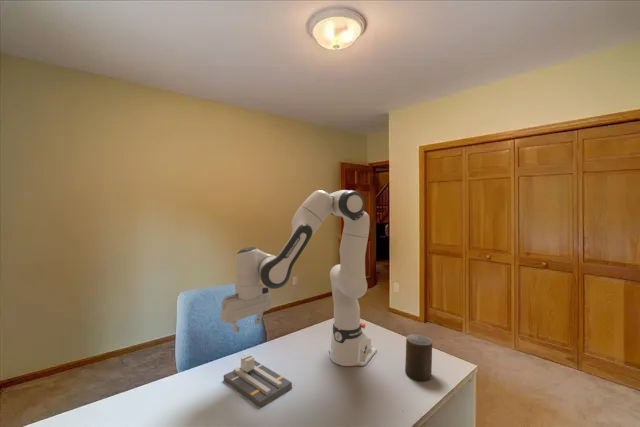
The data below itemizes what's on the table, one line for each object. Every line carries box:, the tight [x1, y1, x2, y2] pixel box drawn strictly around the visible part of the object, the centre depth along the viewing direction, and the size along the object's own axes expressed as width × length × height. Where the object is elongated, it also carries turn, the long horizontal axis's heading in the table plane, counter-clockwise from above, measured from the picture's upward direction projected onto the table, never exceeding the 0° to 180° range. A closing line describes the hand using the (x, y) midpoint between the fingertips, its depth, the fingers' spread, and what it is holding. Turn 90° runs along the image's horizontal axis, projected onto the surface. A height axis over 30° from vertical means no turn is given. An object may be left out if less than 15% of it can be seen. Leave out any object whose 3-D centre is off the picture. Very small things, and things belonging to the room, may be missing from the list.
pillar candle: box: [404, 333, 433, 382], centre depth 114 cm, size 10×10×15 cm
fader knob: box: [240, 354, 255, 374], centre depth 111 cm, size 3×4×5 cm
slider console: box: [223, 360, 293, 409], centre depth 107 cm, size 14×22×3 cm, turn 48°
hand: (247, 327), depth 110 cm, fingers open, 8 cm apart
